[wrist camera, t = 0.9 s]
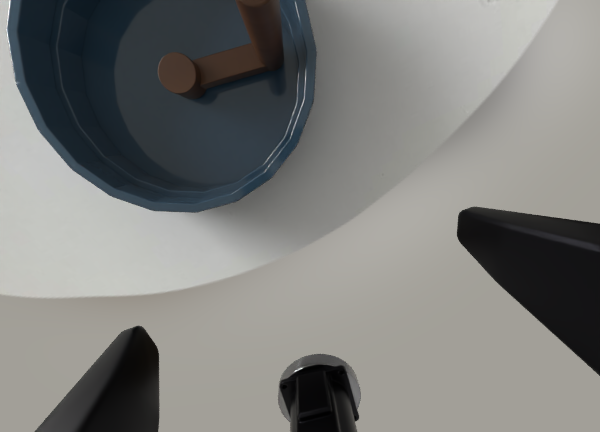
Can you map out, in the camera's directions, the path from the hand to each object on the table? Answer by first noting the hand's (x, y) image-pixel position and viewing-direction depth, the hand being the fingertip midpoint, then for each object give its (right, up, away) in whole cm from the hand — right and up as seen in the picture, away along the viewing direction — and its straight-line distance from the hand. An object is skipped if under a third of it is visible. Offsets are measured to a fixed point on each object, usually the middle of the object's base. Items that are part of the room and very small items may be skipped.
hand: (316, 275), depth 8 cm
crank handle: (-5, +12, +13) cm, 18 cm away
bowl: (-8, +11, +14) cm, 20 cm away
